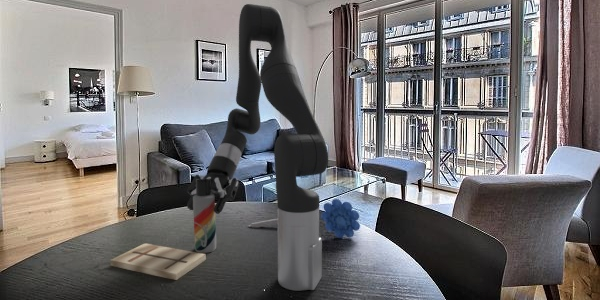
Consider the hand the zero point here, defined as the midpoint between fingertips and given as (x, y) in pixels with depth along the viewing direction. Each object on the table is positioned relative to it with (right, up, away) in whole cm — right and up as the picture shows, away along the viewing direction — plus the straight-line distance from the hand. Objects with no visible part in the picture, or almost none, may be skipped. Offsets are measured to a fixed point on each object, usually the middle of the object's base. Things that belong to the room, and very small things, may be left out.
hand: (202, 210), depth 92 cm
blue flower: (+38, -10, +9) cm, 41 cm away
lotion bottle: (0, -11, +2) cm, 11 cm away
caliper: (+19, -9, +19) cm, 29 cm away
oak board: (-9, -12, -6) cm, 16 cm away
